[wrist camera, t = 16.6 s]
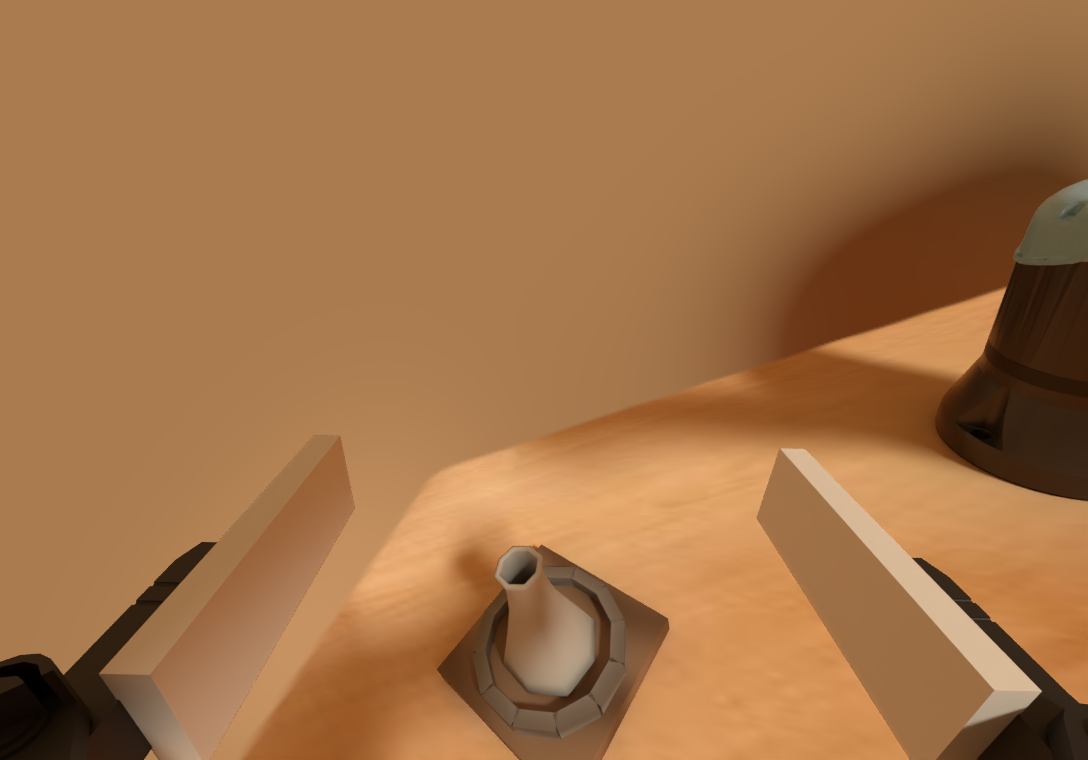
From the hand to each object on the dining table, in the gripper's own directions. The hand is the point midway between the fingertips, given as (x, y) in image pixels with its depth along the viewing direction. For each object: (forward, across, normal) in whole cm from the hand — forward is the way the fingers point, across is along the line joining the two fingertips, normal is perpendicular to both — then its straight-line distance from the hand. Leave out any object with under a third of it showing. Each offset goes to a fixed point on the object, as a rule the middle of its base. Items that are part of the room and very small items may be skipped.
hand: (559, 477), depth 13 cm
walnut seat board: (+10, +1, -26) cm, 28 cm away
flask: (+10, +1, -24) cm, 26 cm away
